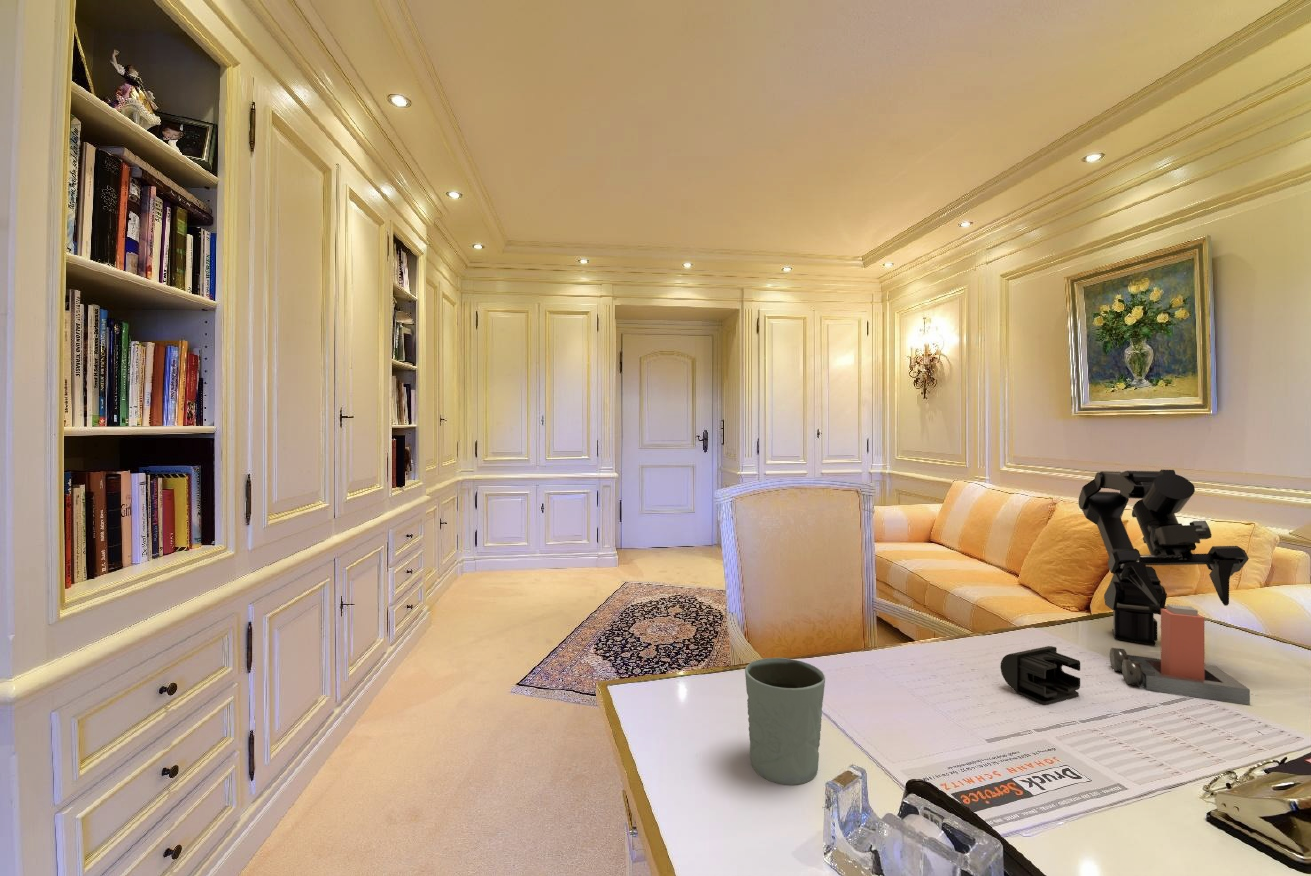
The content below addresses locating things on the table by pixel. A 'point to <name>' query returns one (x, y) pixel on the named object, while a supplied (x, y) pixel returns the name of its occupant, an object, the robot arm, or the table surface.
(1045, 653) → the end cap
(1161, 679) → the chassis
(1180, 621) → the reddish-brown tall block
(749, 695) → the grey cup
